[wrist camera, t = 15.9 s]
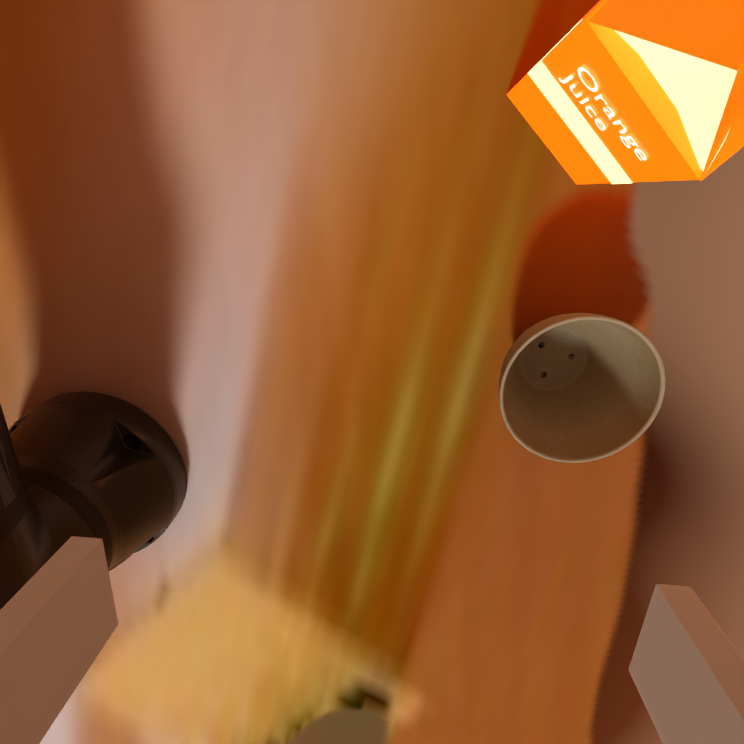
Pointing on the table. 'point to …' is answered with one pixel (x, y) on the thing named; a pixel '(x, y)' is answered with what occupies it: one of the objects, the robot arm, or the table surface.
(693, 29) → the orange juice
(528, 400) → the flower pot
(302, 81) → the table surface
